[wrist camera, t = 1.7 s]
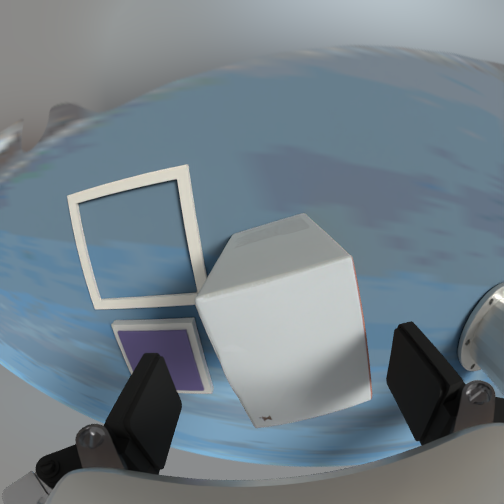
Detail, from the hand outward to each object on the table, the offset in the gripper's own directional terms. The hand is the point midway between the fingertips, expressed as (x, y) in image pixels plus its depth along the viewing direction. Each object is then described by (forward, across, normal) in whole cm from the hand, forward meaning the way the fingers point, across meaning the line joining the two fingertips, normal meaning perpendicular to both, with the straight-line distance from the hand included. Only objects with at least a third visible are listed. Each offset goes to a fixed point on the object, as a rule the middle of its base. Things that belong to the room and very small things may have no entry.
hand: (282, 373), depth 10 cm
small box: (+14, -1, 0) cm, 14 cm away
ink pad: (+14, +12, +9) cm, 20 cm away
